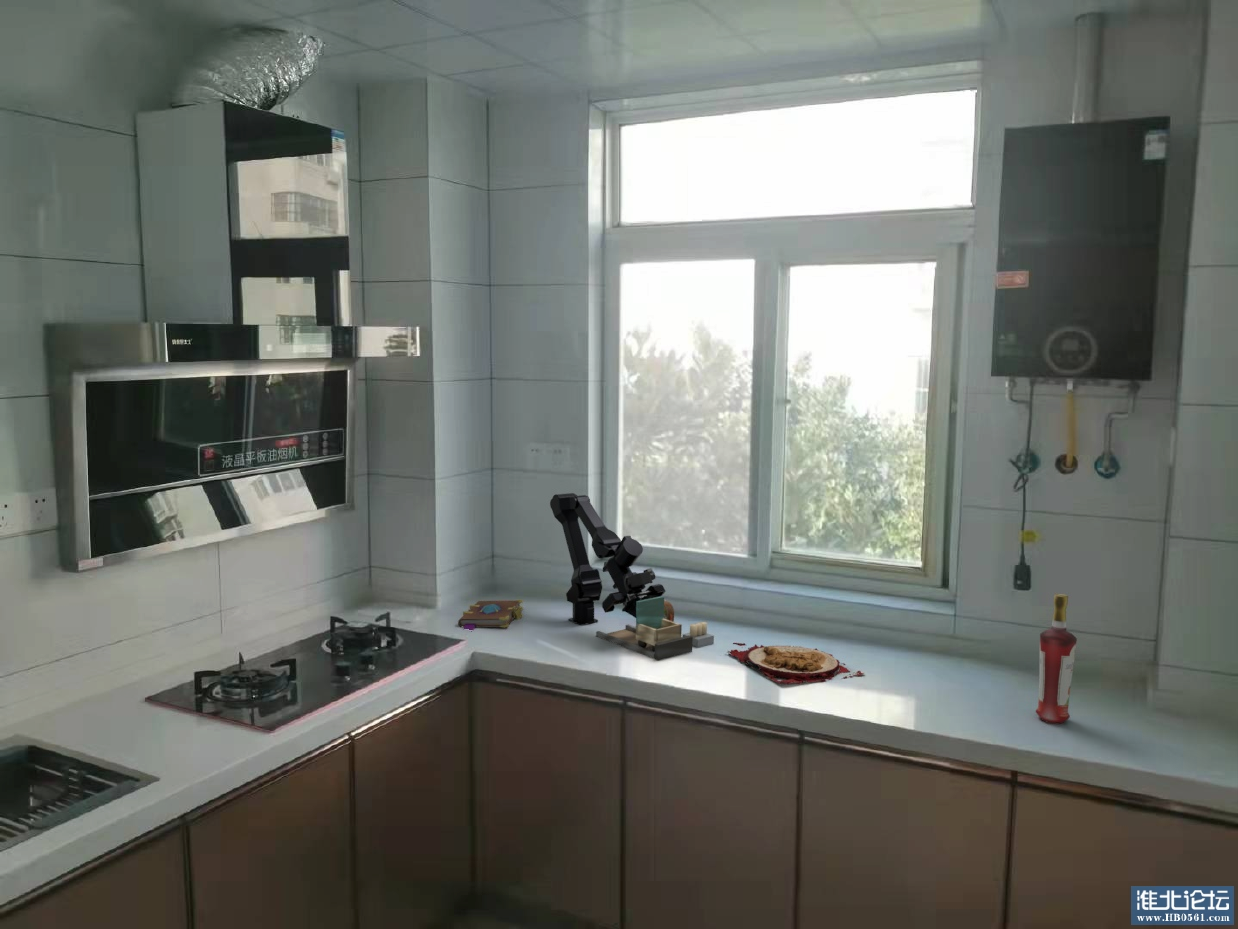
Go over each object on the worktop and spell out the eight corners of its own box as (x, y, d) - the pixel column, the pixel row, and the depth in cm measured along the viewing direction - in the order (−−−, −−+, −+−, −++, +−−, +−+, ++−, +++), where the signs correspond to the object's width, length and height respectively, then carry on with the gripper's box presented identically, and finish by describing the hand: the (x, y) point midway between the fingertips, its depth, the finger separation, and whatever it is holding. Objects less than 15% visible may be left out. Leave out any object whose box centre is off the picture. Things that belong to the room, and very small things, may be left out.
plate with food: (781, 691, 227) (782, 677, 226) (726, 655, 251) (727, 642, 250) (865, 680, 236) (866, 666, 236) (805, 646, 260) (806, 634, 260)
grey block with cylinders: (682, 645, 258) (682, 623, 258) (698, 641, 262) (698, 619, 261) (697, 650, 254) (698, 628, 253) (713, 646, 258) (714, 624, 257)
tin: (642, 620, 281) (642, 592, 280) (651, 619, 283) (652, 591, 282) (665, 634, 268) (666, 605, 267) (675, 633, 269) (676, 604, 268)
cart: (635, 647, 252) (636, 601, 250) (660, 641, 257) (661, 596, 256) (655, 655, 246) (656, 608, 244) (681, 648, 251) (682, 602, 250)
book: (453, 635, 268) (452, 618, 267) (476, 612, 292) (475, 596, 292) (509, 635, 266) (508, 618, 265) (528, 611, 290) (527, 595, 290)
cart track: (595, 638, 263) (595, 621, 262) (628, 631, 270) (628, 614, 270) (658, 663, 243) (658, 645, 242) (692, 654, 250) (692, 636, 250)
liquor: (1039, 710, 215) (1048, 589, 211) (1074, 719, 210) (1083, 595, 207) (1029, 720, 209) (1038, 596, 206) (1065, 728, 204) (1074, 602, 201)
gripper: (609, 564, 250) (635, 614, 243) (661, 555, 262) (688, 602, 255) (590, 587, 257) (615, 636, 250) (642, 577, 269) (668, 624, 262)
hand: (648, 624), depth 254 cm, fingers closed
